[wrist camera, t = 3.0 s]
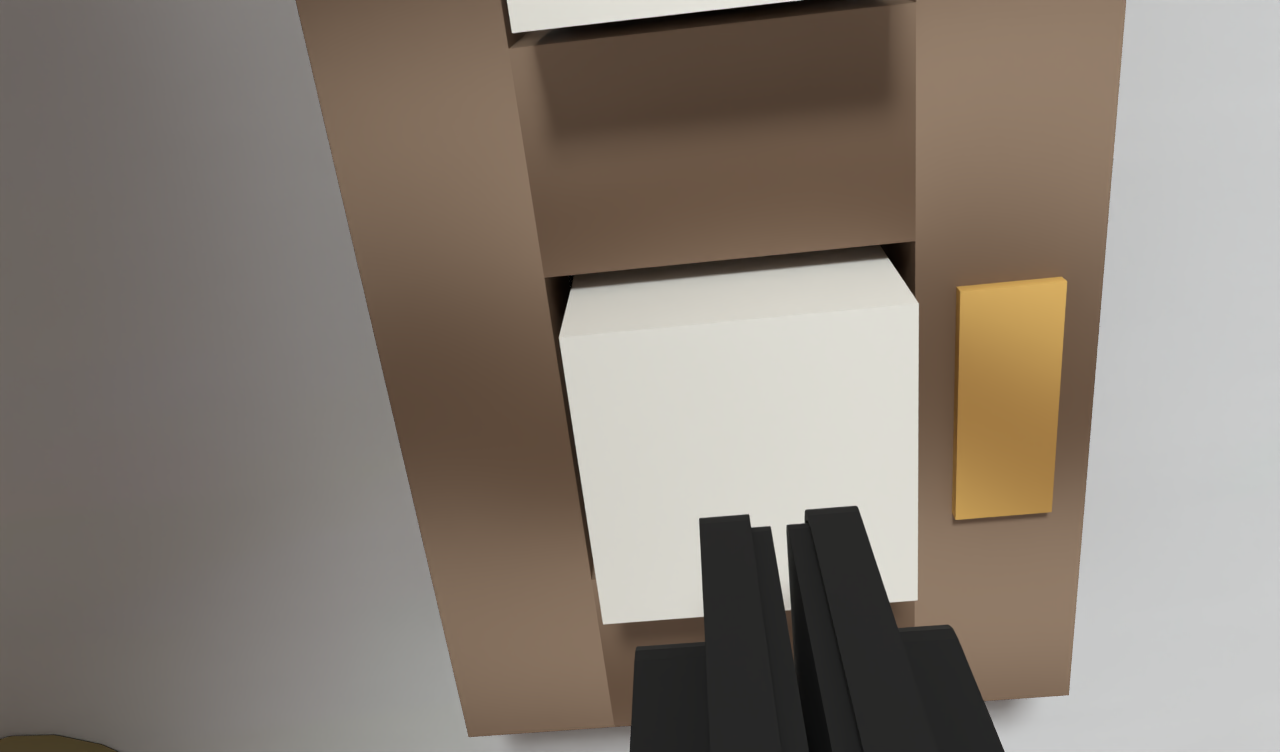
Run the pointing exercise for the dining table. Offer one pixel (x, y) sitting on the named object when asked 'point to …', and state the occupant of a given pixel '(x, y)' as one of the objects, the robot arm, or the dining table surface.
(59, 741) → the cork
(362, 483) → the dining table surface
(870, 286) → the outer button
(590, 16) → the middle button
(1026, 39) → the button board
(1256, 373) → the dining table surface
